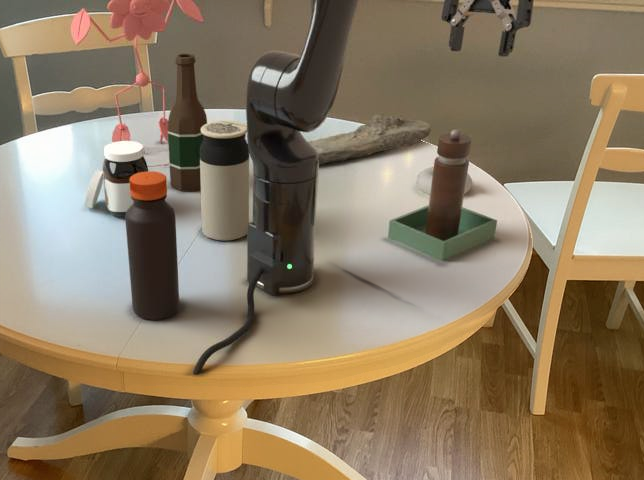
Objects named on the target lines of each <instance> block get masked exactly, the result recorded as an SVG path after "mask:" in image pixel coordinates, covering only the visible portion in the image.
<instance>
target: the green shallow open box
mask: <svg viewBox="0 0 644 480" xmlns="http://www.w3.org/2000/svg"><path fill="white" fill-rule="evenodd" d="M428 207H429V204H428V205H425V206H422V207H421V208H418V209H414V210H413V211H410V212H408V213H405V214H402V215H400V216H398V217H394V218H392V219H390V220H389V224H388V233H387V238H388V239H390V240H393V241H395V242H398V243H400V244H402V245H403V246H406V247H409V248H411V249H413V250H415V251H418V252H420V253H422V254H424V255H426V256H429V257H432V258H434V259H436V260H437V261H440V262H443V261H445V260H447V259H449V258H452V257H455V256H456V255H458V254H461V253H463V252H465V251H467V250H469V249H472V248H474V247H476V246H479V245H481V244H483V243H486V242H487V241H490V240H492V239H494V238H495V237H496V230H497V225H498V220H497V219H495V218H493V217H490V216H487V215H485V214H481V213H479V212H477V211H474V210H471V209H469V208H466V207H463V206H462V211H461V218H460V224H459V231H458V235H457V236H454V237H452V238H450V239H448V240H445V241H442V240H440V239H437V238H435V237H433V236H430V235H428V234H425V230H426V222H427V215H428Z"/></svg>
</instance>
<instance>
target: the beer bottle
mask: <svg viewBox="0 0 644 480" xmlns="http://www.w3.org/2000/svg"><path fill="white" fill-rule="evenodd" d="M175 57H176V58H175V62H174V63H175V64H176V96H175V101H174V103H173V105H172V106H171V108H170V111H169V115H168V119H167V120H168V141H167V143H168V159H169V160H168V161H169V162H168V164H170V165H169V179H170V186H171V188H172V189H175V190H177V191H179V192H199V191H201V178H200V146H201V144H202V142H203V140H204V139H203V134H202V133H201V127H202V126H203V125H205V124H207V123H208V117H207V116H208V115H207V113H206V111H205V108H204V106H203V104H202V103H201V102H200V101H199V98H198V93H197V83H196V72H195V71H196V70H195V64H196V61H197V59H196V57H195V55H194V54H191V53H180V54H178V55H177V54H176V56H175Z"/></svg>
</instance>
